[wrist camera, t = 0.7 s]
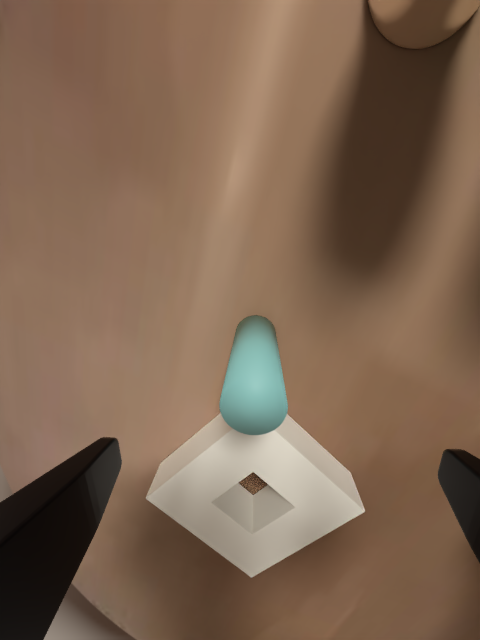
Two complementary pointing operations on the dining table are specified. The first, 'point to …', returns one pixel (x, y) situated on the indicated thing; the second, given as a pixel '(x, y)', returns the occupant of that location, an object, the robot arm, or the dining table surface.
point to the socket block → (267, 504)
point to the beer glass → (420, 20)
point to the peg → (254, 380)
